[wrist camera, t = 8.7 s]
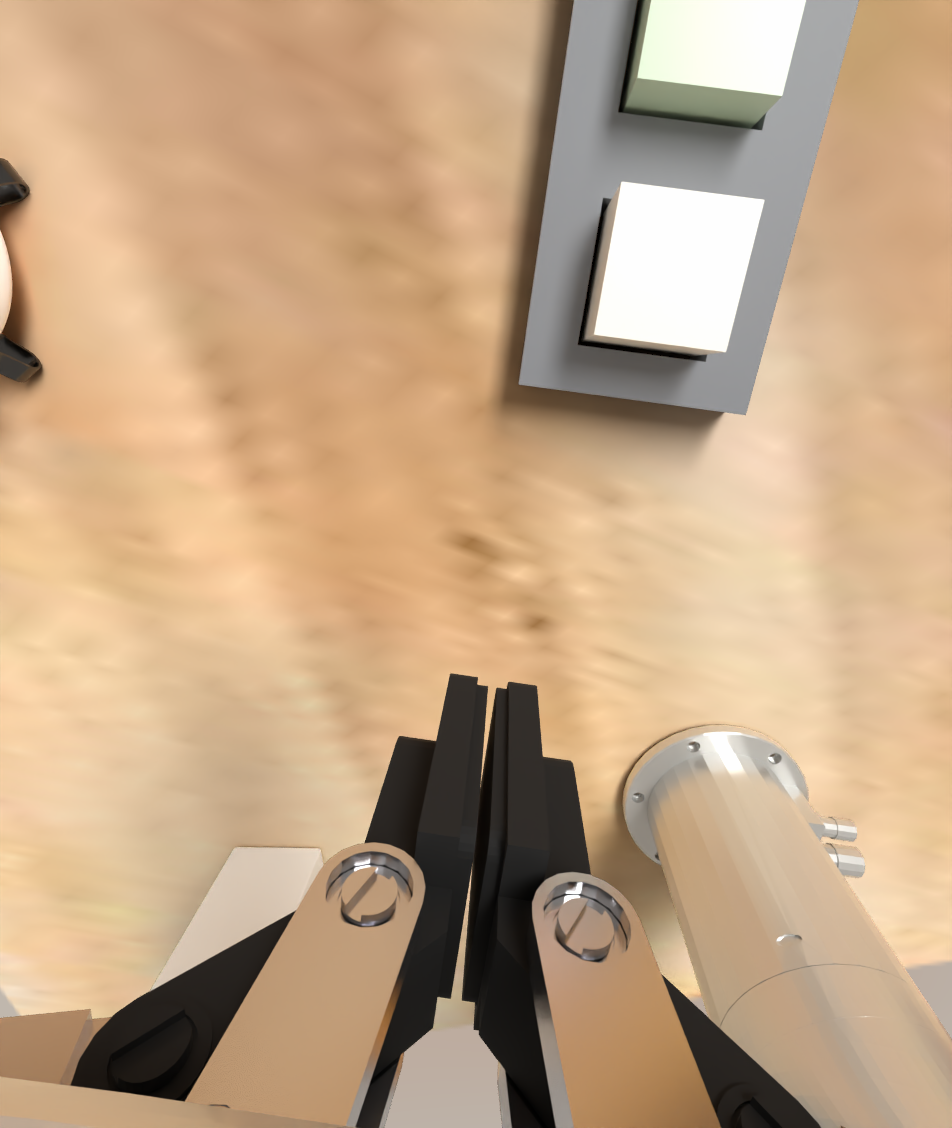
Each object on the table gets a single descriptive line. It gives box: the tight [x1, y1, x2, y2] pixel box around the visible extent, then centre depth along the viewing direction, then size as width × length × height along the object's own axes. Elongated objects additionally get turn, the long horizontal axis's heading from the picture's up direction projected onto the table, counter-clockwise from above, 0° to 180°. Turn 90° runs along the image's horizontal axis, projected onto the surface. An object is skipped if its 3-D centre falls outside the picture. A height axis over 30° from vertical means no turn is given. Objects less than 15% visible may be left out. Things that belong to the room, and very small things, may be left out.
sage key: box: [619, 0, 806, 129], centre depth 25 cm, size 6×6×5 cm
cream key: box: [581, 182, 764, 356], centre depth 27 cm, size 6×6×5 cm
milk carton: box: [149, 847, 323, 992], centre depth 37 cm, size 7×7×19 cm
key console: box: [518, 0, 859, 415], centre depth 26 cm, size 12×31×3 cm, turn 173°
